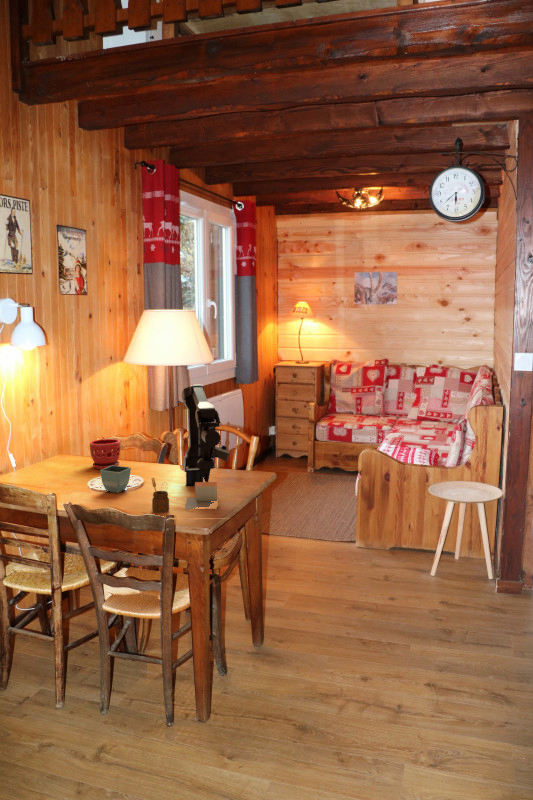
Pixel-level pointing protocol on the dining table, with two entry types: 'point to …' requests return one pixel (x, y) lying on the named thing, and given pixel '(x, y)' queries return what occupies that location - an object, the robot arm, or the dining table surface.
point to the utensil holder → (160, 500)
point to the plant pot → (105, 453)
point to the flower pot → (115, 478)
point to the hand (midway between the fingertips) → (206, 481)
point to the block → (206, 491)
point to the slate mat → (196, 503)
